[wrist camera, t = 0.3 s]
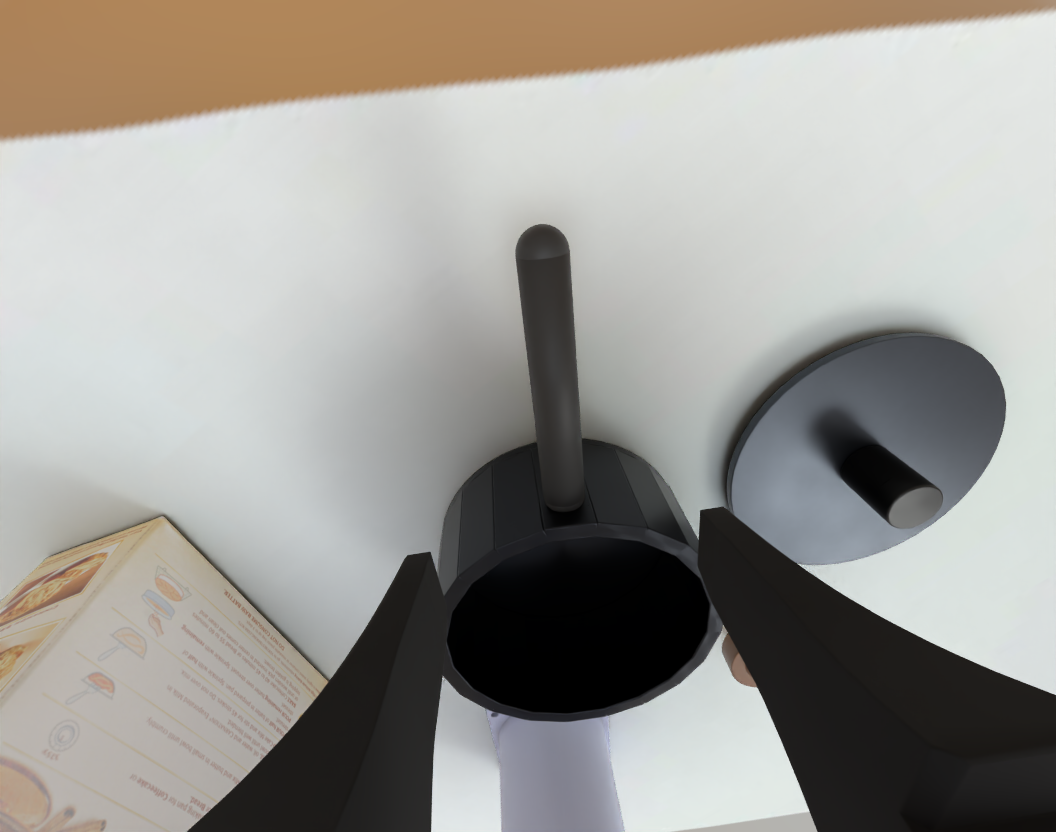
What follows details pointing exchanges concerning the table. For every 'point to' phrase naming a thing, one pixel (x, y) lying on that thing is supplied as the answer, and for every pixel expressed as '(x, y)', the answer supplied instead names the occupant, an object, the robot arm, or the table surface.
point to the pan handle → (552, 362)
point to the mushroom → (736, 663)
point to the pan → (571, 590)
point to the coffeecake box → (136, 687)
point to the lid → (867, 447)
